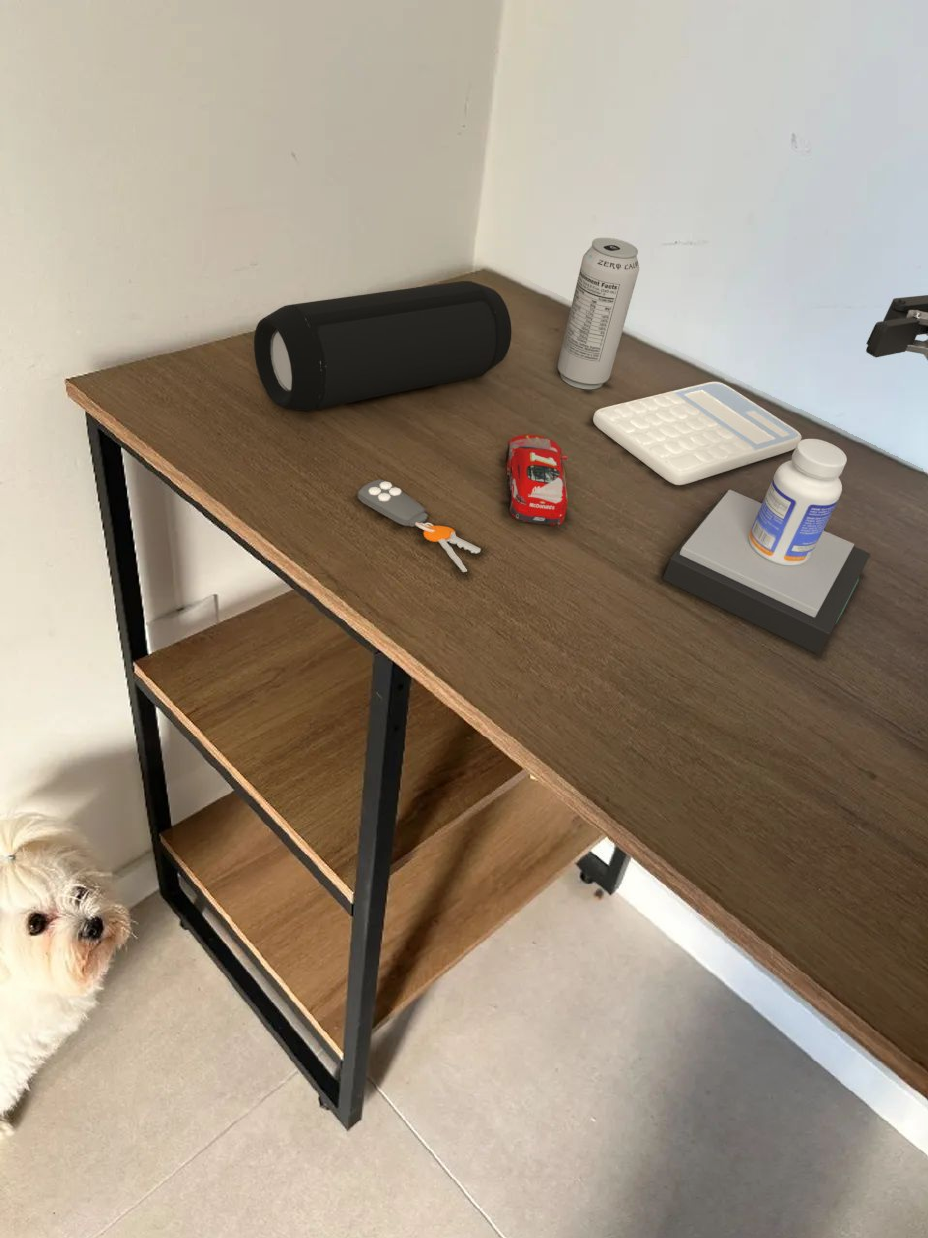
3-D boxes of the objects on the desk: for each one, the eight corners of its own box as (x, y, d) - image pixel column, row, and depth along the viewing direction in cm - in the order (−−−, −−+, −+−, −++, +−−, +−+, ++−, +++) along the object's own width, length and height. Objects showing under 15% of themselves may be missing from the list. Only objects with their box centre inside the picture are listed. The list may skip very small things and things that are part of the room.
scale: (860, 574, 85) (876, 546, 83) (819, 656, 75) (835, 627, 73) (717, 510, 89) (729, 482, 87) (661, 579, 80) (672, 550, 78)
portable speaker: (455, 349, 106) (468, 262, 100) (507, 389, 101) (525, 301, 94) (249, 387, 93) (249, 290, 87) (296, 436, 88) (300, 336, 81)
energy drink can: (618, 385, 106) (655, 253, 96) (582, 396, 102) (616, 261, 93) (581, 361, 109) (613, 232, 99) (544, 371, 106) (574, 238, 96)
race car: (504, 448, 92) (511, 412, 89) (557, 456, 92) (566, 421, 90) (504, 526, 82) (512, 488, 79) (564, 535, 82) (574, 497, 80)
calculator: (586, 422, 98) (591, 406, 97) (714, 390, 108) (719, 376, 107) (674, 489, 91) (680, 473, 90) (802, 449, 101) (809, 433, 100)
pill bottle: (810, 541, 82) (858, 445, 75) (807, 575, 78) (856, 477, 71) (750, 521, 83) (791, 426, 76) (743, 554, 79) (786, 456, 72)
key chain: (352, 501, 81) (353, 487, 80) (381, 487, 84) (383, 473, 83) (463, 575, 76) (466, 561, 75) (492, 557, 78) (495, 543, 77)
